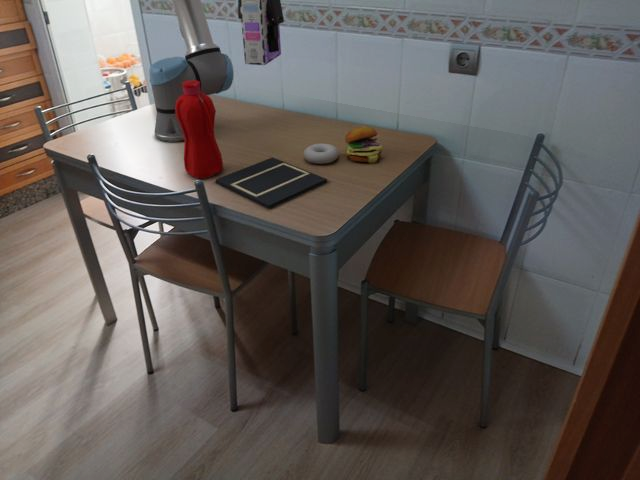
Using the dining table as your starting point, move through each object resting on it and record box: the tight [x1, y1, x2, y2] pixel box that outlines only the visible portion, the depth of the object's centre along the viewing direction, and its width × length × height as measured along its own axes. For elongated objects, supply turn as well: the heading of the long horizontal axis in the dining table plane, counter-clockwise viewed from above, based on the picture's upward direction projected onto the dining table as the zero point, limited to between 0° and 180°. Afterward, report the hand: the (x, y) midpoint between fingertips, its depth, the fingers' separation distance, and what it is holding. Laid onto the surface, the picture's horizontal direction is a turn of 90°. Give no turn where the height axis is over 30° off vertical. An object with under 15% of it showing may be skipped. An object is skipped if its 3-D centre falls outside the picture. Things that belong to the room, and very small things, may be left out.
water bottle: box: [175, 80, 224, 180], centre depth 138 cm, size 9×11×25 cm
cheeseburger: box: [344, 126, 383, 164], centre depth 149 cm, size 10×11×10 cm
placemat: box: [215, 157, 328, 210], centre depth 138 cm, size 22×20×1 cm
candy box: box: [240, 0, 282, 66], centre depth 138 cm, size 14×6×16 cm, turn 165°
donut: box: [303, 143, 340, 165], centre depth 150 cm, size 10×3×10 cm
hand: (262, 49), depth 141 cm, fingers closed on candy box, 8 cm apart
